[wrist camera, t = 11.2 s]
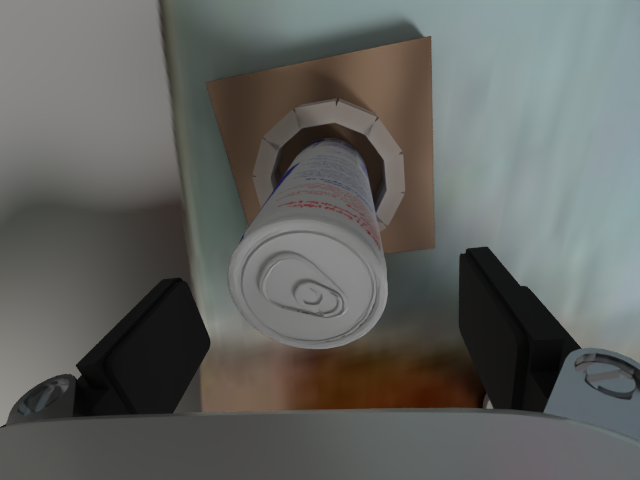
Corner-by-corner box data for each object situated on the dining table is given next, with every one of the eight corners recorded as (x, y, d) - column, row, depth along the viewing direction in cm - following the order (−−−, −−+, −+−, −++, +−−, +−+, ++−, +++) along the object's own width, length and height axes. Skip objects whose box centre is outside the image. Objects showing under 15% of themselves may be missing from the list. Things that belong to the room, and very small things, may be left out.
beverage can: (287, 140, 23) (203, 224, 10) (364, 132, 22) (388, 209, 9) (298, 212, 26) (244, 356, 12) (368, 206, 25) (392, 352, 12)
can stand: (425, 38, 21) (444, 29, 17) (430, 239, 27) (444, 267, 23) (213, 82, 23) (185, 82, 19) (264, 258, 30) (251, 286, 26)
